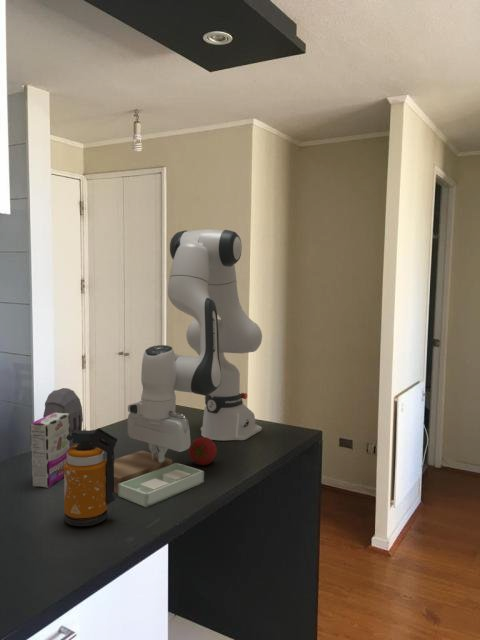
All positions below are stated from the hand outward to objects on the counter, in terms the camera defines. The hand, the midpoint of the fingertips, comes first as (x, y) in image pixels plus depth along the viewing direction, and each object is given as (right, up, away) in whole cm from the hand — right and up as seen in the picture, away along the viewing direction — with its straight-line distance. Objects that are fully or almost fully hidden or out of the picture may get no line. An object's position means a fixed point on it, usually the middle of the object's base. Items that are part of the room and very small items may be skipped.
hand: (158, 460), depth 143 cm
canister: (-11, -7, -24) cm, 27 cm away
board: (-7, -5, +1) cm, 9 cm away
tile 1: (+1, -3, -11) cm, 11 cm away
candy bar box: (-27, -5, -1) cm, 28 cm away
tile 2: (+5, -2, -4) cm, 7 cm away
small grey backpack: (-30, -3, +19) cm, 35 cm away
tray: (+2, -6, -6) cm, 9 cm away
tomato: (+11, -4, +12) cm, 17 cm away
